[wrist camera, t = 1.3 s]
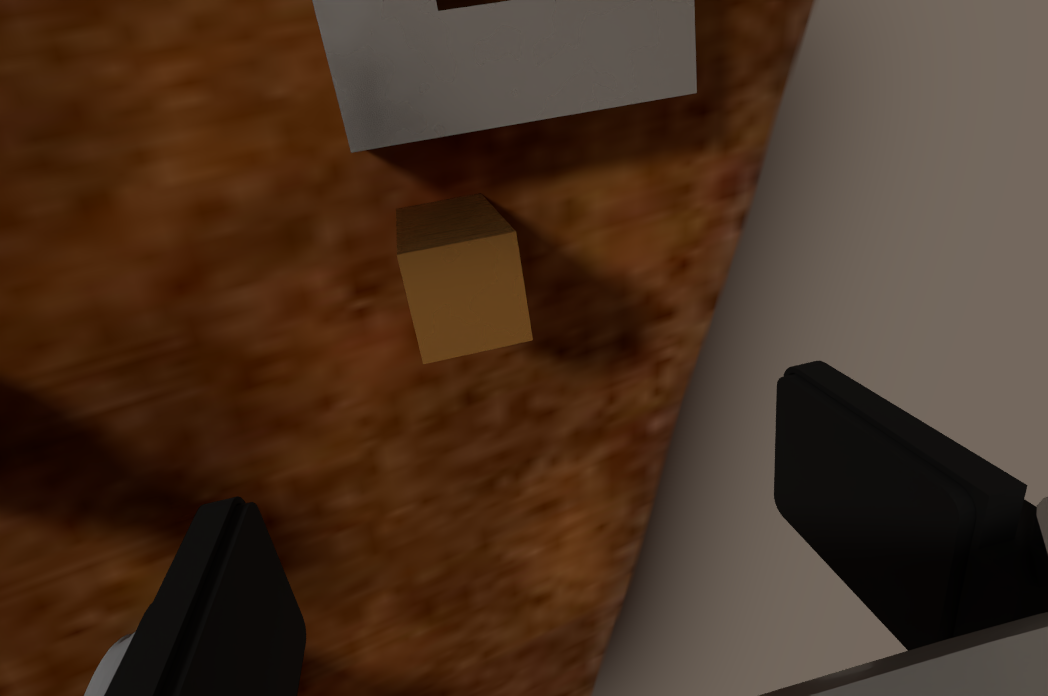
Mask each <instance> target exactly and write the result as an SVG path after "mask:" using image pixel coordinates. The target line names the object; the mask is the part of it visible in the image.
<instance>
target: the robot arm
mask: <svg viewBox="0 0 1048 696" xmlns="http://www.w3.org/2000/svg"><path fill="white" fill-rule="evenodd" d="M1026 489H1027V485H1026V484H1024V483H1022V482H1021V481H1019V480H1018V479H1016V478H1014V477H1012V476H1011V475H1009V474H1008V473H1006V472H1004V471H1003V470H1001V469H1000V468H998V467H996V466H994V465H993V464H991V463H990V462H988V461H986V460H985V459H983V458H981V457H980V456H978V455H976V454H975V453H973V452H971V451H970V450H968V449H967V448H965V447H963V446H961V445H960V444H958V443H956V442H955V441H953V440H952V439H950V438H948V437H947V436H945V435H943V434H942V433H940V432H938V431H937V430H935V429H934V428H932V427H930V426H928V425H927V424H925V423H924V422H922V421H920V420H919V419H917V418H915V417H914V416H912V415H910V414H909V413H907V412H905V411H904V410H902V409H901V408H899V407H897V406H896V405H894V404H892V403H890V402H889V401H887V400H886V399H884V398H882V397H880V396H879V395H877V394H876V393H874V392H872V391H871V390H869V389H868V388H866V387H864V386H863V385H861V384H859V383H858V382H856V381H854V380H853V379H851V378H849V377H848V376H846V375H844V374H843V373H841V372H839V371H837V370H836V369H834V368H833V367H831V366H829V365H828V364H826V363H824V362H822V361H814V362H810V363H806V364H801V365H797V366H793V367H789V368H788V369H787V370H786V371H785V373H784V377H781V378H780V379H779V380H778V382H777V402H776V439H775V477H774V499H775V503H776V506H777V508H778V510H779V512H780V513H781V514H782V516H783V517H784V518H785V519H786V520H787V521H788V523H789V524H790V525H791V526H792V527H793V528H794V529H795V530H796V531H797V532H798V533H799V534H800V535H801V536H802V537H803V538H804V540H805V541H806V542H807V543H808V544H809V545H810V546H811V547H812V548H813V549H814V550H815V551H816V552H817V554H818V555H819V556H820V557H821V558H822V559H823V560H824V561H825V562H826V563H827V564H828V565H829V566H830V568H831V569H832V570H833V571H834V572H835V573H836V574H837V575H838V576H839V577H840V578H841V579H842V580H843V581H844V582H845V583H846V584H847V586H848V587H849V588H850V589H851V590H852V591H853V592H854V593H855V594H856V595H857V596H858V597H859V598H860V599H861V601H862V602H863V603H864V604H865V605H866V606H867V607H868V608H869V609H870V610H871V611H872V612H873V613H874V615H875V616H876V617H877V618H878V619H879V620H880V621H881V622H882V623H883V624H884V625H885V626H886V627H887V628H888V630H889V631H890V632H891V633H892V634H893V635H894V636H895V637H896V638H897V639H898V640H899V641H900V642H901V643H902V645H903V646H904V647H905V648H906V649H907V650H908V651H906V652H903V653H899V654H896V655H893V656H889V657H886V658H883V659H879V660H876V661H873V662H869V663H866V664H863V665H859V666H856V667H852V668H849V669H846V670H842V671H839V672H836V673H832V674H829V675H825V676H822V677H819V678H816V679H812V680H809V681H805V682H802V683H799V684H795V685H792V686H789V687H785V688H782V689H778V690H775V691H772V692H769V693H765V694H762V695H759V696H1048V497H1046V498H1044V499H1043V500H1042V501H1041V502H1040V503H1039V504H1038V505H1037V507H1036V506H1034V505H1032V504H1031V503H1029V502H1028V501H1026V500H1024V497H1025V493H1026ZM305 644H306V628H305V623H304V619H303V616H302V614H301V611H300V609H299V607H298V604H297V602H296V599H295V597H294V594H293V592H292V589H291V587H290V585H289V582H288V580H287V577H286V575H285V572H284V570H283V567H282V565H281V562H280V560H279V558H278V555H277V553H276V550H275V548H274V545H273V543H272V540H271V538H270V536H269V533H268V531H267V528H266V526H265V523H264V521H263V518H262V516H261V513H260V511H259V509H258V507H257V505H256V504H255V503H253V502H251V503H245V501H244V500H243V499H242V498H241V497H234V498H229V499H225V500H221V501H217V502H212V503H208V504H204V505H202V506H200V508H199V509H198V511H197V513H196V515H195V517H194V519H193V521H192V523H191V525H190V527H189V529H188V531H187V533H186V535H185V537H184V539H183V541H182V544H181V546H180V548H179V550H178V552H177V554H176V556H175V558H174V560H173V562H172V564H171V566H170V568H169V570H168V572H167V574H166V576H165V578H164V580H163V583H162V585H161V587H160V589H159V591H158V593H157V595H156V597H155V599H154V601H153V603H152V604H151V605H150V606H149V607H148V609H147V610H146V612H145V614H144V616H143V618H142V620H141V622H140V624H139V626H138V628H137V630H136V632H135V634H134V636H133V638H132V640H131V642H130V644H129V646H128V648H127V650H126V652H125V654H124V656H123V658H122V660H121V662H120V664H119V666H118V668H117V670H116V672H115V674H114V676H113V678H112V681H111V683H110V685H109V687H108V689H107V691H106V693H105V695H104V696H297V692H298V686H299V680H300V674H301V668H302V662H303V656H304V650H305Z"/></svg>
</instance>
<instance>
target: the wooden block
mask: <svg viewBox="0 0 1048 696" xmlns="http://www.w3.org/2000/svg"><path fill="white" fill-rule="evenodd" d="M396 238H397V257H398V262H399V266H400V270H401V274H402V278H403V282H404V286H405V291H406V295H407V299H408V303H409V307H410V311H411V315H412V320H413V324H414V328H415V332H416V336H417V340H418V344H419V348H420V353H421V357H422V361H423V364H427V363H431V362H436V361H440V360H445V359H450V358H454V357H459V356H463V355H468V354H472V353H477V352H482V351H486V350H491V349H495V348H500V347H504V346H509V345H514V344H518V343H523V342H527V341H532V340H533V337H532V331H531V324H530V318H529V311H528V305H527V299H526V292H525V286H524V279H523V273H522V266H521V260H520V253H519V247H518V241H517V234H516V231H515V230H514V229H513V228H512V227H511V226H510V224H509V223H508V222H507V221H506V220H505V219H504V218H503V217H502V216H501V215H500V214H499V213H498V212H497V210H496V209H495V208H494V207H493V206H492V205H491V204H490V203H489V202H488V201H487V200H486V199H485V198H484V196H483V195H482V194H481V193H479V194H474V195H469V196H463V197H458V198H452V199H447V200H442V201H436V202H431V203H425V204H420V205H415V206H409V207H404V208H399V209H396Z"/></svg>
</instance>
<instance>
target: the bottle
mask: <svg viewBox="0 0 1048 696" xmlns="http://www.w3.org/2000/svg"><path fill="white" fill-rule="evenodd" d="M134 634H135V632H134V633H133V634H129V635H126V636H124V637H122V638H121V639H119V640H118V641H117V642H116V643H115V644H114V645H113V646H112V647H111V648H110V649H109V650H108V652H107V653H106V655H105V656H104V657H103V659H102V661H101V662H100V664H99V666H98V667H97V669H96V671H95V673H94V675H93V677H92V679H91V681H90V683H89V686H88V688H87V690H86V692H85V694H84V696H104V695H105V693H106V691H107V689H108V687H109V685H110V683H111V681H112V678H113V676H114V674H115V672H116V670H117V668H118V666H119V664H120V662H121V660H122V658H123V656H124V654H125V652H126V650H127V648H128V646H129V644H130V642H131V640H132V638H133V636H134Z"/></svg>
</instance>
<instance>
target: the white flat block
mask: <svg viewBox="0 0 1048 696" xmlns="http://www.w3.org/2000/svg"><path fill="white" fill-rule="evenodd" d="M312 1H313V5H314V9H315V13H316V16H317V20H318V24H319V28H320V32H321V36H322V40H323V44H324V48H325V52H326V56H327V60H328V63H329V67H330V71H331V75H332V79H333V83H334V87H335V91H336V95H337V99H338V103H339V106H340V110H341V114H342V118H343V122H344V126H345V130H346V134H347V138H348V142H349V146H350V150H351V153H352V152H357V151H363V150H369V149H375V148H381V147H386V146H392V145H398V144H404V143H410V142H415V141H421V140H427V139H433V138H439V137H444V136H450V135H456V134H462V133H468V132H473V131H479V130H485V129H491V128H497V127H502V126H508V125H514V124H520V123H526V122H531V121H537V120H543V119H549V118H555V117H560V116H566V115H572V114H578V113H584V112H589V111H595V110H601V109H607V108H613V107H618V106H624V105H630V104H636V103H642V102H647V101H653V100H659V99H665V98H671V97H676V96H682V95H688V94H694V93H697V80H696V44H695V7H694V0H510V1H503V2H496V3H489V4H483V5H476V6H469V7H462V8H455V9H448V10H442V11H438V8H437V3H436V0H312Z"/></svg>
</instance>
